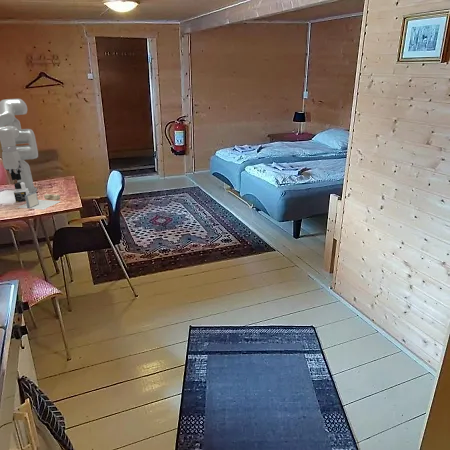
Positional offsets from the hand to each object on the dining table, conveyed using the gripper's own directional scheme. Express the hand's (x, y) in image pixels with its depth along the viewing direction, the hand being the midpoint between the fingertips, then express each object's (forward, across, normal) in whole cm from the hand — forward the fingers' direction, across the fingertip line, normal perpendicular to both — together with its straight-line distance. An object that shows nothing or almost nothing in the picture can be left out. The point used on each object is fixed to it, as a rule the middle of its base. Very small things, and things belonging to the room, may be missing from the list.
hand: (16, 179), depth 245 cm
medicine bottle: (+17, -9, +10) cm, 22 cm away
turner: (+17, +13, +15) cm, 26 cm away
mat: (+17, +9, +4) cm, 20 cm away
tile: (+17, +8, 0) cm, 18 cm away
